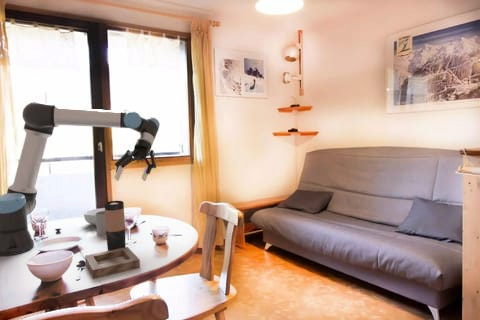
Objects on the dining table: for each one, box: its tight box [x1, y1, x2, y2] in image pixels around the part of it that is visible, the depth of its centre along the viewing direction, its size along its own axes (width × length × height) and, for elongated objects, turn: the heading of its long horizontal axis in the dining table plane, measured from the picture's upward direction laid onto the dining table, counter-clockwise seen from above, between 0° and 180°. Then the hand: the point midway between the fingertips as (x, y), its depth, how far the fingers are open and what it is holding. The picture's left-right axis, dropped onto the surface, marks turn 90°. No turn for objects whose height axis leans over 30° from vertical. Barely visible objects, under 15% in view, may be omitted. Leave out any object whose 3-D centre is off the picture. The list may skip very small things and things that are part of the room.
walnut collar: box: [84, 246, 141, 279], centre depth 129 cm, size 16×16×3 cm
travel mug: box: [104, 200, 126, 251], centre depth 145 cm, size 8×8×20 cm
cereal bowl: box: [83, 207, 105, 227], centre depth 184 cm, size 17×17×7 cm
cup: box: [95, 211, 106, 236], centre depth 169 cm, size 8×8×10 cm
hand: (129, 179), depth 156 cm, fingers open, 13 cm apart
